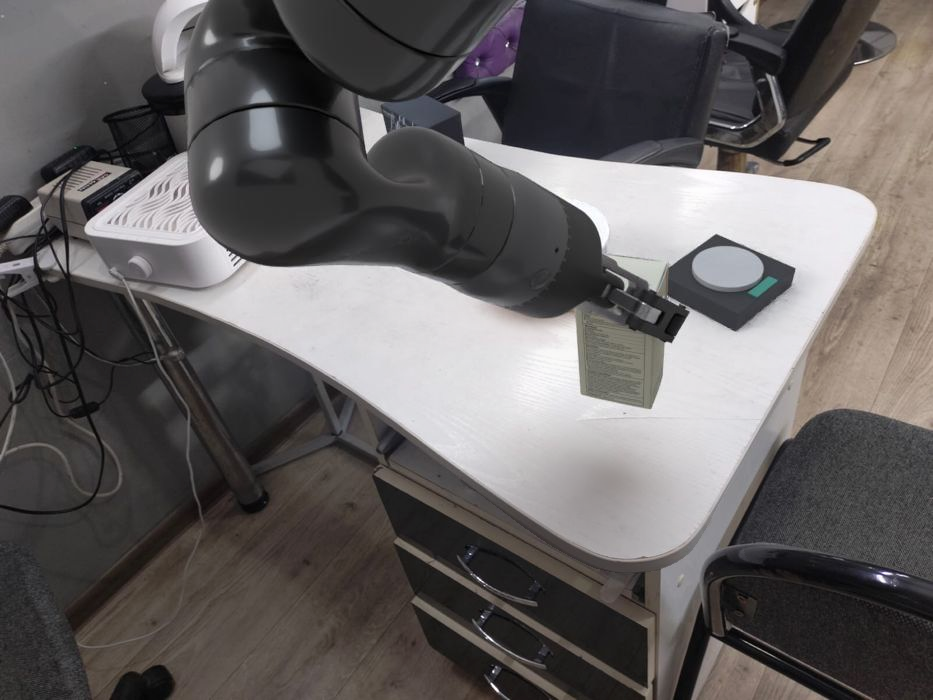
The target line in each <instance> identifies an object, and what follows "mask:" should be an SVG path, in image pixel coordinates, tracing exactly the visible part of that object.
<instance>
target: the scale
mask: <svg viewBox="0 0 933 700" xmlns="http://www.w3.org/2000/svg"><path fill="white" fill-rule="evenodd" d="M796 269H797V268H796V267H794V266H792V265H790V264H787V263H784V262H782V261H781V260H777V259H775V258H773V257H771V256H768V255H767V254H765V253H763V252H759V251H757V250H754V249H753V248H750V247H748V246H746V245H743V244H741V243H739V242H736V241H734V240H732V239H729V238H727V237H725V236H722V235H720V234H718V233H715V234H714V235H712V236H711V237H709V238H708V239H706V241H704V242H702V243H701V244H700V245H699V246H697V247H696V248H694V249H693V250H691V251H690V252H688V253H687V254H686V255H684V256H683V257H681V258H680V259H679V260H677V261H676V262H674V263H673V264H672V265H669V271H668V292H667V297H670V298H671V299H674V300H675V301H677V302H679V303H680V304H682V305H684V306H686V307H689V308H690V309H693V310H695V311H696V312H698V313H700V314H702V315H705V316H707V317H708V318H710V319H711V320H713V321H715V322H717V323H719V324H720V325H723V326H725V327H727V328H729V329H731V330H732V331H734V332H736V331H737V330H739V329H741V327H743V326H744V325H745V324H746V323H748V322H749V321H750V320H751V319H752V318H753V317H755V316H756V315H757V314H759V313H760V312H761V311H762V310H763V309H765V308H766V307H767V306H769V304H771V303H772V302H773V301H774V300H776V299H777V298H778V297H779V296H781V295H782V294H783V293H784V292H785V291H787V290H788V289H790V287H792V286H793V281H794V277H795V273H796Z"/></svg>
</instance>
